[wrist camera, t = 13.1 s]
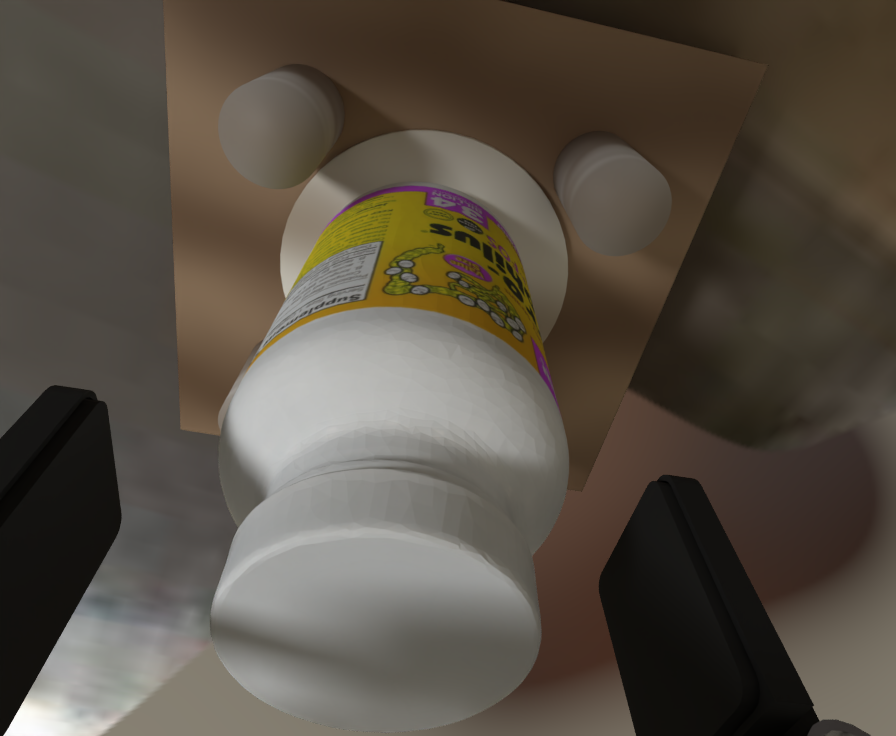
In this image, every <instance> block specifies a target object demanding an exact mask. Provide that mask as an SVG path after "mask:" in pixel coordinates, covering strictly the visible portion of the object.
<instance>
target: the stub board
mask: <svg viewBox="0 0 896 736" xmlns="http://www.w3.org/2000/svg"><path fill="white" fill-rule="evenodd" d="M163 8H164V33H165V57H166V81H167V106H168V130H169V154H170V179H171V203H172V227H173V252H174V276H175V300H176V325H177V349H178V374H179V398H180V422H181V430H188V431H194V432H201V433H207V434H214V435H220V434H221V428H222V424H223V421H224V418H225V415H226V412H227V409H228V407H229V404H230V402H231V400H232V398H233V396H234V394H235V392H236V390H237V389H238V387H239V385H240V382H241V380H242V378H243V376H244V375H245V373H246V371H247V369H248V367H249V365H250V363H251V362H252V360H253V359H254V357H255V355H256V353H257V351H258V349H259V348H260V346H261V344H262V342H263V340H264V339H265V337H266V335H267V333H268V331H269V329H270V328H271V326H272V324H273V322H274V320H275V318H276V316H277V315H278V313H279V311H280V309H281V307H282V305H283V303H284V301H285V299H286V297H287V295H288V293H289V292H290V290H291V288H292V286H293V284H294V283H295V281H296V279H297V277H298V275H299V273H300V271H301V269H302V268H303V266H304V264H305V262H306V260H307V258H308V256H309V254H310V253H311V251H312V249H313V247H314V245H315V243H316V242H317V240H318V238H319V237H320V235H321V233H322V231H323V230H324V229H325V227H326V226H327V225H328V223H329V222H330V221H331V220H332V219H333V217H334V216H335V215H336V214H337V213H338V212H339V211H340V210H341V209H343V208H344V207H345V206H346V205H347V204H349V203H350V202H351V201H353V200H354V199H355V198H357V197H359V196H360V195H362V194H364V193H366V192H368V191H370V190H373V189H375V188H378V187H381V186H385V185H388V184H394V183H400V182H409V181H410V182H430V183H435V184H441V185H444V186H448V187H451V188H453V189H456V190H459V191H461V192H463V193H465V194H467V195H469V196H471V197H473V198H474V199H476V200H477V201H479V202H480V203H482V204H483V205H484V206H485V207H487V208H488V209H489V210H490V211H491V212H492V213H493V214H494V215H495V216H496V217H497V218H498V219H499V220H500V221H501V222H502V224H503V225H504V226H505V228H506V229H507V231H508V232H509V234H510V235H511V237H512V239H513V241H514V243H515V245H516V247H517V250H518V253H519V256H520V259H521V262H522V265H523V268H524V272H525V275H526V280H527V284H528V288H529V292H530V295H531V299H532V303H533V308H534V311H535V316H536V319H537V323H538V327H539V331H540V335H541V339H542V343H543V347H544V351H545V355H546V359H547V363H548V367H549V372H550V376H551V380H552V384H553V388H554V392H555V395H556V399H557V402H558V406H559V410H560V414H561V417H562V421H563V425H564V429H565V434H566V438H567V445H568V452H569V476H568V485H567V489H568V490H575V491H581V492H582V490H583V488H584V486H585V484H586V481H587V479H588V476H589V474H590V472H591V470H592V467H593V465H594V463H595V461H596V458H597V456H598V454H599V452H600V449H601V447H602V445H603V442H604V440H605V438H606V436H607V433H608V431H609V429H610V426H611V424H612V422H613V420H614V417H615V415H616V413H617V410H618V408H619V406H620V404H621V401H622V399H623V397H624V394H625V392H626V390H627V388H628V385H629V383H630V381H631V378H632V376H633V374H634V372H635V369H636V367H637V365H638V362H639V360H640V358H641V356H642V353H643V351H644V349H645V346H646V344H647V342H648V340H649V337H650V335H651V333H652V330H653V328H654V326H655V324H656V321H657V319H658V317H659V315H660V312H661V310H662V308H663V305H664V303H665V301H666V299H667V296H668V294H669V292H670V289H671V287H672V285H673V283H674V280H675V278H676V276H677V273H678V271H679V269H680V267H681V264H682V262H683V260H684V257H685V255H686V253H687V251H688V248H689V246H690V244H691V241H692V239H693V237H694V235H695V232H696V230H697V228H698V225H699V223H700V221H701V219H702V216H703V214H704V212H705V209H706V207H707V205H708V203H709V200H710V198H711V196H712V193H713V191H714V189H715V187H716V184H717V182H718V180H719V177H720V175H721V173H722V171H723V168H724V166H725V164H726V161H727V159H728V157H729V155H730V152H731V150H732V148H733V145H734V143H735V141H736V139H737V136H738V134H739V132H740V129H741V127H742V125H743V123H744V120H745V118H746V116H747V113H748V111H749V109H750V107H751V104H752V102H753V100H754V98H755V95H756V93H757V91H758V88H759V86H760V84H761V82H762V79H763V77H764V75H765V72H766V70H767V68H768V66H769V65H766V64H762V63H758V62H754V61H750V60H745V59H741V58H737V57H733V56H729V55H725V54H721V53H716V52H712V51H708V50H704V49H700V48H696V47H691V46H687V45H683V44H679V43H675V42H671V41H667V40H662V39H658V38H654V37H650V36H646V35H642V34H638V33H633V32H629V31H625V30H621V29H617V28H613V27H608V26H604V25H600V24H596V23H592V22H588V21H584V20H579V19H575V18H571V17H567V16H563V15H559V14H555V13H550V12H546V11H542V10H538V9H534V8H530V7H525V6H521V5H517V4H513V3H509V2H505V1H501V0H163Z"/></svg>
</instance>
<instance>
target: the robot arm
mask: <svg viewBox="0 0 896 736" xmlns="http://www.w3.org/2000/svg"><path fill="white" fill-rule="evenodd" d="M120 524H121V507H120V499H119V492H118V484H117V477H116V469H115V461H114V454H113V446H112V439H111V431H110V424H109V416H108V409H107V405H106V403H105V402H103V401H98V400H97V397H96V394H95V393H94V392H93V391H91V390H84V389H78V388H71V387H64V386H57V385H54V386H50V387H49V388H48V389H46V390H45V391H44V392H43V393H42V395H41V396H40V397H39V398H38V399H37V400H36V401H35V402H34V403H33V404H32V405H31V406H30V407H29V409H28V410H27V411H26V412H25V413H24V414H23V415H22V416H21V417H20V418H19V419H18V420H17V421H16V422H15V424H14V425H13V426H12V427H11V428H10V429H9V430H8V431H7V432H6V433H5V434H4V435H3V436H2V438H1V439H0V736H3V735H4V734H5V732H6V731H7V729H8V728H9V726H10V724H11V722H12V720H13V719H14V717H15V715H16V713H17V712H18V710H19V708H20V706H21V705H22V703H23V701H24V699H25V697H26V696H27V694H28V692H29V690H30V689H31V687H32V685H33V683H34V682H35V680H36V678H37V676H38V674H39V673H40V671H41V669H42V667H43V666H44V664H45V662H46V660H47V659H48V657H49V655H50V653H51V651H52V650H53V648H54V646H55V644H56V643H57V641H58V639H59V637H60V636H61V634H62V632H63V630H64V628H65V627H66V625H67V623H68V621H69V620H70V618H71V616H72V614H73V613H74V611H75V609H76V607H77V605H78V604H79V602H80V600H81V598H82V597H83V595H84V593H85V591H86V590H87V588H88V586H89V584H90V583H91V581H92V579H93V577H94V575H95V574H96V572H97V570H98V568H99V567H100V565H101V563H102V561H103V560H104V558H105V556H106V554H107V552H108V551H109V549H110V547H111V545H112V544H113V542H114V540H115V538H116V536H117V534H118V531H119V529H120ZM599 594H600V598H601V602H602V606H603V610H604V613H605V617H606V621H607V625H608V629H609V632H610V637H611V640H612V644H613V648H614V652H615V656H616V660H617V664H618V667H619V671H620V675H621V679H622V683H623V686H624V690H625V694H626V698H627V702H628V706H629V710H630V713H631V717H632V721H633V725H634V729H635V733H636V736H870V735H869V734H868V733H866V732H864V731H862V730H861V729H859V728H857V727H856V726H854V725H852V724H849V723H845V722H842V721H839V720H822V721H819V719H818V717H817V715H816V713H815V711H814V709H813V706H814V704H813V703H812V701H811V699H810V697H809V695H808V693H807V691H806V689H805V687H804V685H803V683H802V681H801V679H800V677H799V675H798V673H797V671H796V669H795V668H794V666H793V663H792V662H791V660H790V658H789V656H788V654H787V652H786V650H785V648H784V646H783V644H782V642H781V640H780V638H779V637H778V634H777V632H776V630H775V628H774V626H773V625H772V623H771V621H770V619H769V617H768V615H767V613H766V611H765V609H764V607H763V605H762V603H761V601H760V599H759V597H758V595H757V593H756V591H755V590H754V587H753V585H752V584H751V582H750V580H749V578H748V576H747V574H746V572H745V570H744V568H743V566H742V564H741V562H740V560H739V558H738V556H737V554H736V552H735V550H734V548H733V546H732V545H731V543H730V541H729V539H728V537H727V535H726V533H725V531H724V529H723V527H722V525H721V523H720V521H719V519H718V517H717V515H716V513H715V511H714V509H713V508H712V505H711V503H710V502H709V500H708V498H707V496H706V494H705V492H704V490H703V488H702V486H701V484H700V483H699V482H698V481H697V480H695V479H692V478H685V477H679V476H672V475H662V476H661V477H660V478H659V479H658V480H657V481H652V482H650V483H649V485H648V486H647V488H646V490H645V492H644V494H643V495H642V497H641V499H640V501H639V503H638V505H637V507H636V509H635V511H634V513H633V514H632V516H631V518H630V520H629V522H628V524H627V526H626V528H625V529H624V531H623V533H622V535H621V537H620V539H619V541H618V543H617V545H616V547H615V548H614V550H613V552H612V554H611V556H610V558H609V560H608V562H607V564H606V565H605V568H604V569H603V571H602V573H601V576H600V580H599Z"/></svg>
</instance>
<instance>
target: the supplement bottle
mask: <svg viewBox="0 0 896 736" xmlns="http://www.w3.org/2000/svg"><path fill="white" fill-rule="evenodd" d="M218 463H219V476H220V482H221V487H222V490H223V494H224V497H225V500H226V503H227V506H228V509H229V511H230V513H231V515H232V517H233V519H234V522H235V523H236V525H237V526H238V530H237V532H236V534H235V536H234V538H233V541H232V544H231V547H230V551H229V554H228V558H227V562H226V565H225V568H224V570H223V573H222V576H221V579H220V582H219V584H218V587H217V590H216V593H215V596H214V599H213V603H212V608H211V615H210V631H211V637H212V641H213V644H214V648H215V651H216V652H217V655H218V657H219V658H220V660H221V661H222V663H223V665H224V666H225V668H226V669H227V670H228V672H229V673H230V674H231V675H232V676H233V677H234V678H235V679H236V680H237V681H238V683H239V684H240V685H241V686H242V687H244V688H245V689H246V690H248V691H249V692H250V693H251V694H253V695H254V696H255V697H257V698H258V699H260V700H261V701H263V702H265V703H267V704H268V705H270V706H272V707H274V708H276V709H278V710H280V711H282V712H285V713H287V714H289V715H292V716H294V717H297V718H300V719H303V720H307V721H310V722H313V723H316V724H320V725H324V726H328V727H332V728H338V729H343V730H352V731H363V732H381V733H392V732H406V731H415V730H424V729H431V728H435V727H440V726H444V725H448V724H452V723H455V722H458V721H461V720H464V719H467V718H469V717H471V716H473V715H475V714H477V713H479V712H481V711H483V710H486V709H488V708H489V707H491V706H493V705H494V704H496V703H497V702H499V701H501V700H502V699H503V698H505V697H506V696H507V695H508V694H510V693H511V692H513V691H514V690H515V689H516V688H517V687H518V686H519V685H520V683H522V681H523V680H524V679H525V677H526V676H527V675H528V673H529V672H530V670H531V669H532V667H533V665H534V663H535V661H536V658H537V655H538V651H539V646H540V642H541V633H542V632H541V620H540V611H539V605H538V598H537V588H536V580H535V570H534V564H533V559H532V555H533V554H534V553H535V552H536V551H537V549H538V548H539V547H540V546H541V545H542V543H543V542H544V541H545V539H546V538H547V536H548V535H549V533H550V532H551V530H552V528H553V526H554V524H555V522H556V520H557V518H558V516H559V514H560V511H561V508H562V505H563V502H564V499H565V495H566V491H567V485H568V476H569V452H568V445H567V438H566V434H565V429H564V425H563V421H562V417H561V414H560V410H559V406H558V402H557V399H556V395H555V392H554V388H553V384H552V380H551V376H550V372H549V367H548V363H547V359H546V355H545V351H544V347H543V343H542V339H541V335H540V331H539V327H538V323H537V319H536V316H535V311H534V308H533V303H532V299H531V295H530V292H529V288H528V284H527V280H526V275H525V272H524V268H523V265H522V262H521V259H520V256H519V253H518V250H517V247H516V245H515V243H514V241H513V239H512V237H511V235H510V234H509V232H508V231H507V229H506V228H505V226H504V225H503V224H502V222H501V221H500V220H499V219H498V218H497V217H496V216H495V215H494V214H493V213H492V212H491V211H490V210H489V209H488V208H487V207H485V206H484V205H483V204H482V203H480V202H479V201H477V200H476V199H474V198H473V197H471V196H469V195H467V194H465V193H463V192H461V191H459V190H456V189H453V188H451V187H448V186H444V185H441V184H435V183H430V182H410V181H409V182H400V183H394V184H388V185H385V186H381V187H378V188H375V189H373V190H370V191H368V192H366V193H364V194H362V195H360V196H359V197H357V198H355V199H354V200H353V201H351V202H350V203H349V204H347V205H346V206H345V207H344V208H343V209H341V210H340V211H339V212H338V213H337V214H336V215H335V216H334V217H333V219H332V220H331V221H330V222H329V223H328V225H327V226H326V227H325V229H324V230H323V231H322V233H321V235H320V237H319V238H318V240H317V242H316V243H315V245H314V247H313V249H312V251H311V253H310V254H309V256H308V258H307V260H306V262H305V264H304V266H303V268H302V269H301V271H300V273H299V275H298V277H297V279H296V281H295V283H294V284H293V286H292V288H291V290H290V292H289V293H288V295H287V297H286V299H285V301H284V303H283V305H282V307H281V309H280V311H279V313H278V315H277V316H276V318H275V320H274V322H273V324H272V326H271V328H270V329H269V331H268V333H267V335H266V337H265V339H264V340H263V342H262V344H261V346H260V348H259V349H258V351H257V353H256V355H255V357H254V359H253V360H252V362H251V363H250V365H249V367H248V369H247V371H246V373H245V375H244V376H243V378H242V380H241V382H240V385H239V387H238V389H237V390H236V392H235V394H234V396H233V398H232V400H231V402H230V404H229V407H228V409H227V412H226V415H225V418H224V421H223V424H222V428H221V434H220V440H219V450H218Z"/></svg>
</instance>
